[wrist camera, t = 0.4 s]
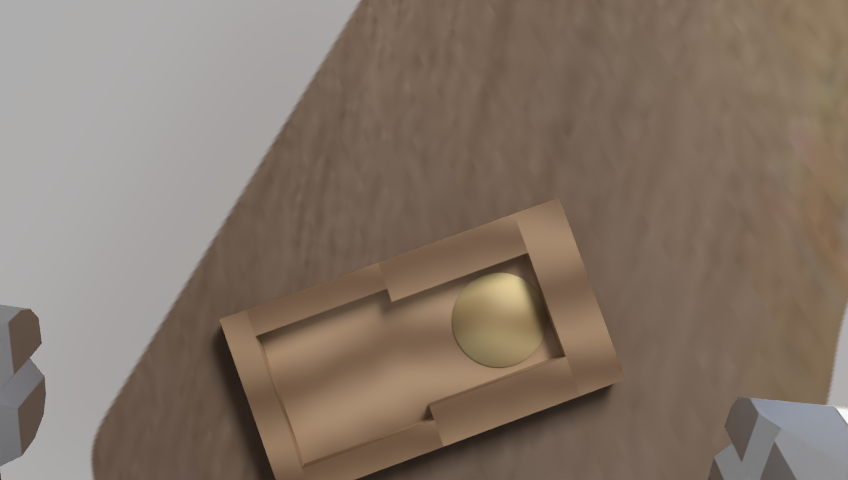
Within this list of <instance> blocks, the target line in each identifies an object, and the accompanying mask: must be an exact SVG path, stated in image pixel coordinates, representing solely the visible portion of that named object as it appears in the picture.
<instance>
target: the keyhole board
mask: <svg viewBox="0 0 848 480" xmlns="http://www.w3.org/2000/svg"><path fill="white" fill-rule="evenodd" d="M219 320H220V323H221V325H222V328H223V331H224V334H225V337H226V340H227V342H228V345H229V348H230V351H231V354H232V357H233V360H234V362H235V365H236V368H237V371H238V374H239V377H240V379H241V382H242V385H243V388H244V391H245V394H246V397H247V399H248V402H249V405H250V408H251V411H252V414H253V417H254V419H255V422H256V425H257V428H258V431H259V434H260V436H261V439H262V442H263V445H264V448H265V451H266V454H267V456H268V459H269V462H270V465H271V468H272V471H273V473H274V476H275V479H276V480H355V479H358V478H360V477H363V476H366V475H368V474H371V473H374V472H377V471H379V470H382V469H385V468H387V467H390V466H393V465H395V464H398V463H401V462H404V461H406V460H409V459H412V458H414V457H417V456H420V455H422V454H425V453H428V452H431V451H433V450H436V449H439V448H441V447H444V446H447V445H449V444H452V443H455V442H457V441H460V440H463V439H466V438H468V437H471V436H474V435H476V434H479V433H482V432H484V431H487V430H490V429H493V428H495V427H498V426H501V425H503V424H506V423H509V422H511V421H514V420H517V419H520V418H522V417H525V416H528V415H530V414H533V413H536V412H538V411H541V410H544V409H547V408H549V407H552V406H555V405H557V404H560V403H563V402H565V401H568V400H571V399H574V398H576V397H579V396H582V395H584V394H587V393H590V392H592V391H595V390H598V389H600V388H603V387H606V386H609V385H611V384H614V383H617V382H619V381H622V380H625V377H624V374H623V372H622V369H621V366H620V363H619V361H618V358H617V355H616V352H615V350H614V347H613V344H612V341H611V339H610V336H609V333H608V330H607V328H606V325H605V322H604V319H603V317H602V314H601V311H600V308H599V306H598V303H597V300H596V297H595V295H594V292H593V289H592V287H591V284H590V281H589V278H588V276H587V273H586V270H585V267H584V265H583V262H582V259H581V256H580V254H579V251H578V248H577V245H576V243H575V240H574V237H573V234H572V232H571V229H570V226H569V223H568V221H567V218H566V215H565V213H564V210H563V207H562V204H561V202H560V199H559V198H557V199H554V200H551V201H548V202H545V203H543V204H540V205H537V206H534V207H532V208H529V209H526V210H523V211H520V212H518V213H515V214H512V215H509V216H506V217H504V218H501V219H498V220H495V221H492V222H490V223H487V224H484V225H481V226H479V227H476V228H473V229H470V230H467V231H465V232H462V233H459V234H456V235H453V236H451V237H448V238H445V239H442V240H439V241H437V242H434V243H431V244H428V245H426V246H423V247H420V248H417V249H414V250H412V251H409V252H406V253H403V254H400V255H398V256H395V257H392V258H389V259H386V260H384V261H381V262H378V263H375V264H372V265H370V266H367V267H364V268H361V269H359V270H356V271H353V272H350V273H347V274H345V275H342V276H339V277H336V278H333V279H331V280H328V281H325V282H322V283H319V284H317V285H314V286H311V287H308V288H306V289H303V290H300V291H297V292H294V293H292V294H289V295H286V296H283V297H280V298H278V299H275V300H272V301H269V302H266V303H264V304H261V305H258V306H255V307H253V308H250V309H247V310H244V311H241V312H239V313H236V314H233V315H230V316H227V317H225V318H222V319H219Z"/></svg>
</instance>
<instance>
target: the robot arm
mask: <svg viewBox="0 0 848 480" xmlns="http://www.w3.org/2000/svg"><path fill="white" fill-rule="evenodd" d="M41 343H42V342H41V334H40V326H39V319H38V317H37V316H36V315H35V314H34V313H33V312H32V310H31V309H27V308H20V307H12V306H6V305H0V466H2V465H4V464H6V463H8V462H10V461H12V460H14V459H16V458H18V457H20V456H22V455H23V454H24V452H25V451H26V449H27V448H28V447H29V445H30V444H31V442H32V441H33V440H34V438H35V436H36V433H37V430H38V428H39V425H40V422H41V420H42V417H43V413H44V405H45V396H46V391H45V377H44V375H43V374H42V373H41V371H40V370H39V369H38V368H37V366H36V365H35V364H34V363H33V362H32V360H31V359H30V357H31V356H32V355H33V353H34V352H35V351H36V350H37V348H38V347H39V346H40V345H41ZM724 427H725V429H726V431H727V433H728V435H729V437H730V439H731V441H732V444H731V445H730V446H728V447H727V448H726V449H724V450H723V451H722V452H720V453H719V454H718V455H717V456H715V457H714V460H713V463H712V467H711V470H710V474H709V477H708V480H848V407H842V406H830V405H818V404H807V403H797V402H787V401H776V400H766V399H756V398H744V397H738V398H737V400H736V401H735V403H734V404H733V406H732V407H731V409H730V411H729V414H728V417H727V420H726V423H725V426H724ZM0 480H1V475H0Z"/></svg>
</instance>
